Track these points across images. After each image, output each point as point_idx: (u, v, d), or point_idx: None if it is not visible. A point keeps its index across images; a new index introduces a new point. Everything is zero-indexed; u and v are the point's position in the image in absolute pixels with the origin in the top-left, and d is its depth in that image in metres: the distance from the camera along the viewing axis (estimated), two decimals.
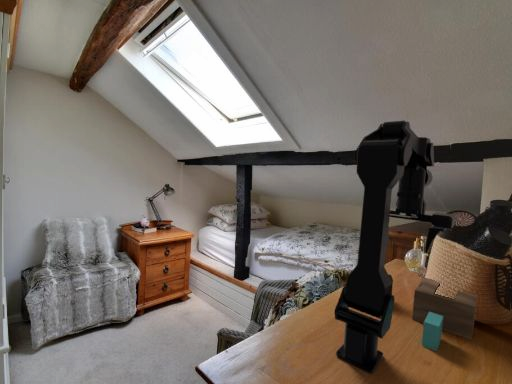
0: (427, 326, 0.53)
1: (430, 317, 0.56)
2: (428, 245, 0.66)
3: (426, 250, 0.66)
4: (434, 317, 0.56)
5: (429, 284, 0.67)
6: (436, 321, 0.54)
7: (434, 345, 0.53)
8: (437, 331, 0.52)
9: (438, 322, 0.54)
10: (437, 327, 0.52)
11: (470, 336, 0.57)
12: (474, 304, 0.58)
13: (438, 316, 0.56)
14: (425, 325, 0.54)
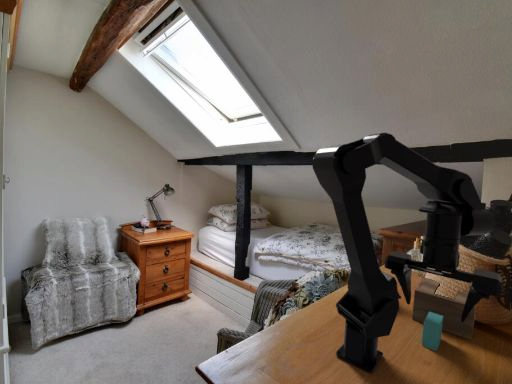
0: (427, 326, 0.53)
1: (430, 317, 0.56)
2: (466, 313, 0.50)
3: (463, 318, 0.51)
4: (434, 317, 0.56)
5: (429, 284, 0.67)
6: (436, 321, 0.54)
7: (434, 345, 0.53)
8: (437, 331, 0.52)
9: (438, 322, 0.54)
10: (437, 327, 0.52)
11: (470, 336, 0.57)
12: None
13: (438, 316, 0.56)
14: (425, 325, 0.54)
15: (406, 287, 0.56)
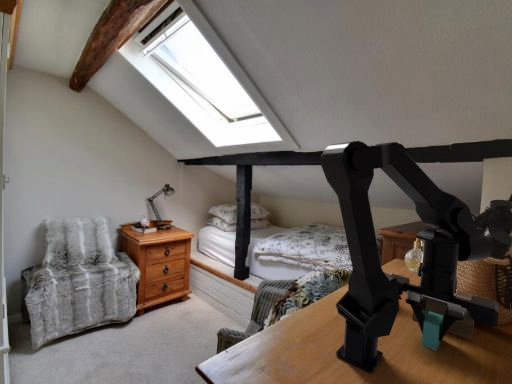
0: (427, 325, 0.53)
1: (430, 316, 0.56)
2: (443, 333, 0.53)
3: (441, 338, 0.54)
4: (434, 317, 0.56)
5: None
6: (436, 320, 0.54)
7: (434, 345, 0.53)
8: (437, 331, 0.52)
9: (438, 322, 0.54)
10: (437, 327, 0.52)
11: (470, 336, 0.57)
12: None
13: (438, 316, 0.56)
14: (425, 325, 0.54)
15: (422, 318, 0.55)
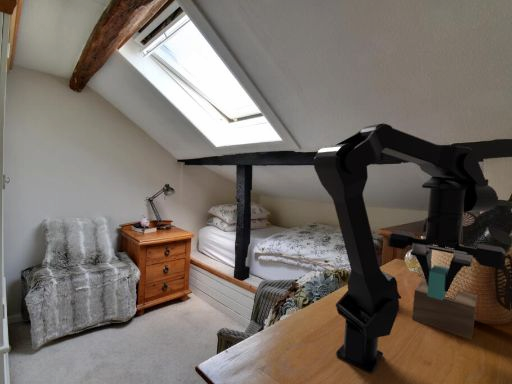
0: (433, 275, 0.53)
1: (436, 268, 0.55)
2: (449, 282, 0.52)
3: (447, 288, 0.53)
4: (439, 268, 0.55)
5: None
6: (442, 271, 0.54)
7: (440, 294, 0.52)
8: (443, 279, 0.52)
9: (443, 272, 0.53)
10: (443, 275, 0.52)
11: (470, 336, 0.57)
12: (474, 304, 0.58)
13: (444, 268, 0.56)
14: (431, 275, 0.53)
15: (427, 268, 0.54)
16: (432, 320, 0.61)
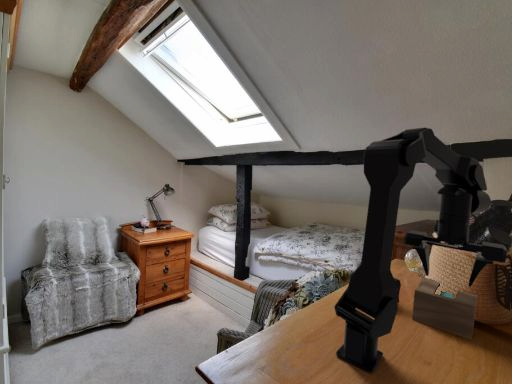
0: None
1: (443, 295, 0.64)
2: (473, 278, 0.59)
3: (471, 283, 0.60)
4: (446, 295, 0.64)
5: (429, 284, 0.67)
6: None
7: None
8: None
9: None
10: None
11: (470, 336, 0.57)
12: (474, 304, 0.58)
13: (449, 294, 0.65)
14: None
15: (425, 260, 0.65)
16: (432, 320, 0.61)
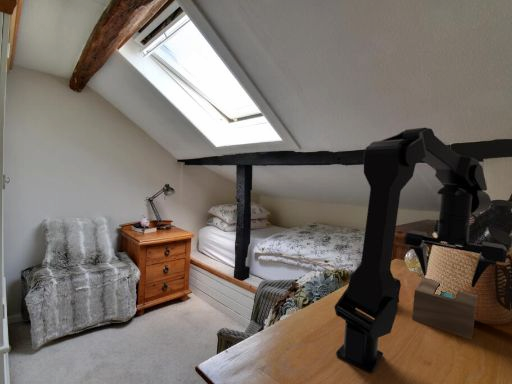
0: None
1: (443, 295, 0.64)
2: (476, 279, 0.59)
3: (474, 284, 0.60)
4: (446, 295, 0.64)
5: (429, 284, 0.67)
6: None
7: None
8: None
9: None
10: None
11: (470, 336, 0.57)
12: (474, 304, 0.58)
13: (449, 294, 0.65)
14: None
15: (423, 260, 0.65)
16: (432, 320, 0.61)
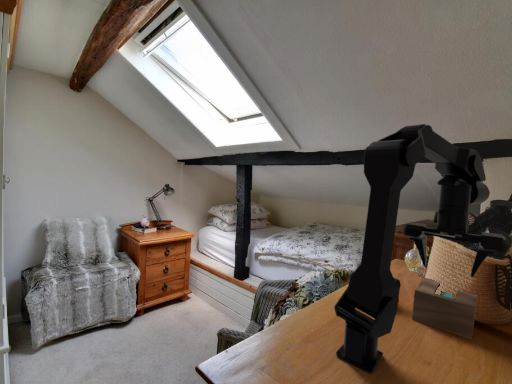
0: None
1: (443, 295, 0.64)
2: (475, 268, 0.59)
3: (473, 274, 0.60)
4: (446, 295, 0.64)
5: (429, 284, 0.67)
6: None
7: None
8: None
9: None
10: None
11: (470, 336, 0.57)
12: (474, 304, 0.58)
13: (449, 294, 0.65)
14: None
15: (423, 250, 0.65)
16: (432, 320, 0.61)
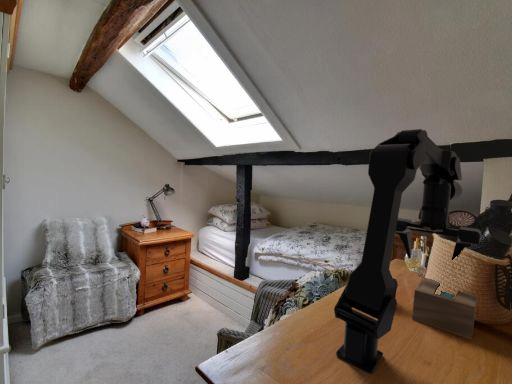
0: None
1: (443, 295, 0.64)
2: None
3: None
4: (446, 295, 0.64)
5: (429, 284, 0.67)
6: None
7: None
8: None
9: None
10: None
11: (470, 336, 0.57)
12: (474, 304, 0.58)
13: (449, 294, 0.65)
14: None
15: (407, 244, 0.71)
16: (432, 320, 0.61)
